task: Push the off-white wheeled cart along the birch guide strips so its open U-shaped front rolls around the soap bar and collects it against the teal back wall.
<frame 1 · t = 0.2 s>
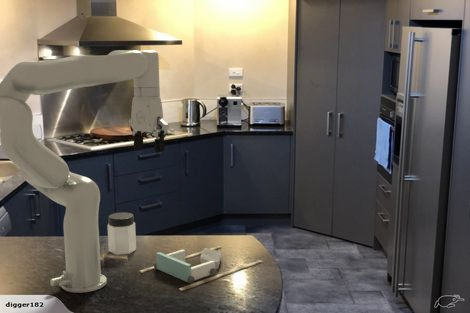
hand: (149, 150, 187), 36 cm above the countertop, tool pointing down, fingers open, 9 cm apart
cart: (184, 263, 186), point 3 cm above the countertop, slide at 0.0 cm
jar: (122, 251, 207), on the countertop
track: (202, 266, 191), on the countertop
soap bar: (210, 265, 193), on the countertop
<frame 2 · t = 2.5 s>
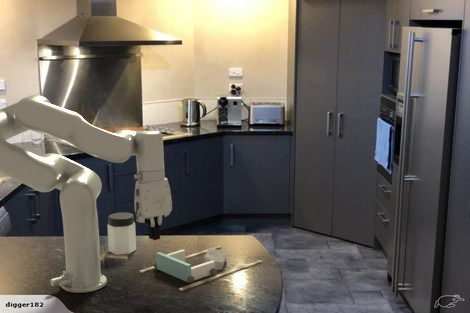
hand: (154, 238, 177), 13 cm above the countertop, tool pointing down, fingers closed
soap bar: (214, 266, 193), on the countertop
everything else where it was.
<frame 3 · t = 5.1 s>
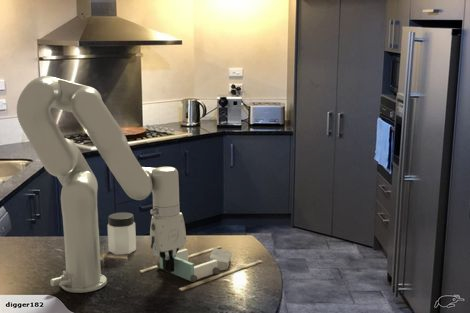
hand: (168, 270, 182), 2 cm above the countertop, tool pointing down, fingers closed
cart: (187, 262, 187), point 3 cm above the countertop, slide at 1.1 cm, touching gripper
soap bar: (219, 266, 193), on the countertop
everything else where it was.
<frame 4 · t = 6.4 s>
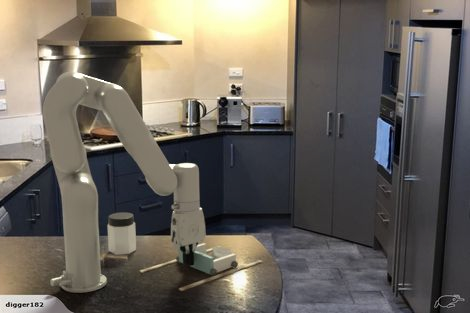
hand: (188, 264, 187), 2 cm above the countertop, tool pointing down, fingers closed
cart: (206, 256, 192), point 3 cm above the countertop, slide at 8.6 cm, touching gripper
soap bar: (222, 263, 195), on the countertop
everything else where it was.
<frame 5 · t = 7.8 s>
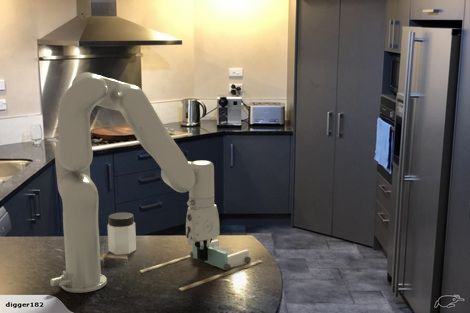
hand: (202, 259, 191), 2 cm above the countertop, tool pointing down, fingers closed
cart: (220, 252, 196), point 3 cm above the countertop, slide at 14.1 cm, touching gripper
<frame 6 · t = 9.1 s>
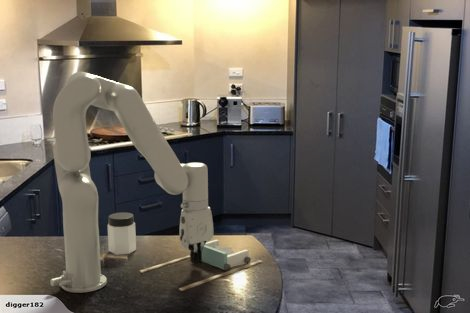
hand: (196, 262, 189), 2 cm above the countertop, tool pointing down, fingers closed
cart: (219, 252, 195), point 3 cm above the countertop, slide at 14.0 cm
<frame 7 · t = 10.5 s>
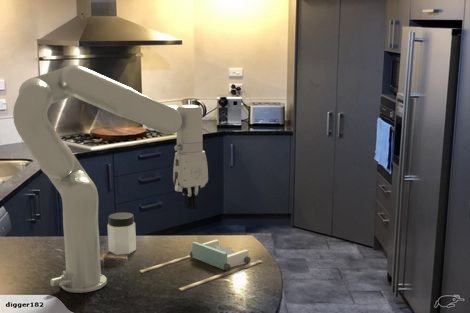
hand: (190, 208, 186), 19 cm above the countertop, tool pointing down, fingers closed
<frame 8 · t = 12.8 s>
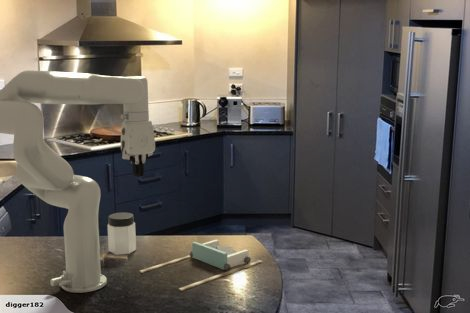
hand: (138, 175, 194), 27 cm above the countertop, tool pointing down, fingers closed
at the end: cart slide at 14.0 cm; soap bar inside the target area on the cart (1.4 cm from its centre), point 0.0 cm above the cart's base; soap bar moved 6.4 cm from its start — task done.
